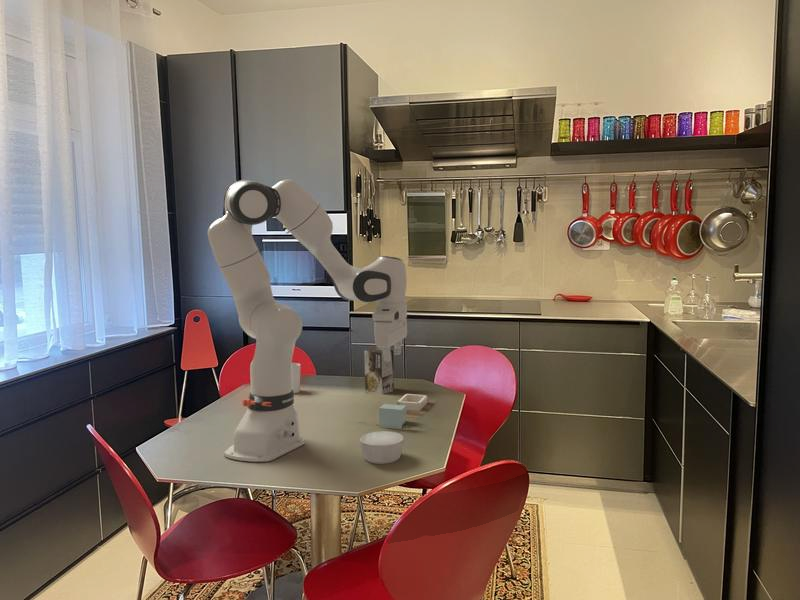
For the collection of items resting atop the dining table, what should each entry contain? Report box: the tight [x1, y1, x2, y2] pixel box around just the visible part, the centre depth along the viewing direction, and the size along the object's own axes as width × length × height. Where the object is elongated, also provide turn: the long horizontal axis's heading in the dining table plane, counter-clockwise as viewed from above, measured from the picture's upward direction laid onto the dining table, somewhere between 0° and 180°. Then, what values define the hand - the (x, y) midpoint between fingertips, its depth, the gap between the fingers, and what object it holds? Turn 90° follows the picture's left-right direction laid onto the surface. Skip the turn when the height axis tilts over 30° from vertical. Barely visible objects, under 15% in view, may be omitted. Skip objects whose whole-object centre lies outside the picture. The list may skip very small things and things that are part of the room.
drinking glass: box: [291, 362, 301, 394], centre depth 218 cm, size 7×7×10 cm
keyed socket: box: [396, 393, 429, 411], centre depth 195 cm, size 10×8×2 cm
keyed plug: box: [378, 403, 407, 430], centre depth 178 cm, size 4×7×6 cm, turn 73°
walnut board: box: [394, 399, 437, 419], centre depth 193 cm, size 20×12×1 cm, turn 163°
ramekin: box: [359, 430, 405, 465], centre depth 152 cm, size 11×11×5 cm
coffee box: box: [363, 347, 395, 395], centre depth 214 cm, size 9×6×16 cm
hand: (392, 357), depth 176 cm, fingers open, 8 cm apart
